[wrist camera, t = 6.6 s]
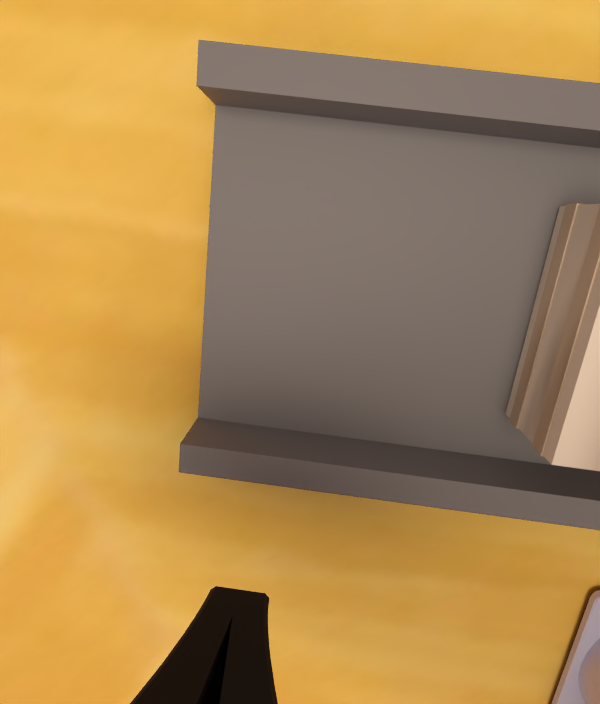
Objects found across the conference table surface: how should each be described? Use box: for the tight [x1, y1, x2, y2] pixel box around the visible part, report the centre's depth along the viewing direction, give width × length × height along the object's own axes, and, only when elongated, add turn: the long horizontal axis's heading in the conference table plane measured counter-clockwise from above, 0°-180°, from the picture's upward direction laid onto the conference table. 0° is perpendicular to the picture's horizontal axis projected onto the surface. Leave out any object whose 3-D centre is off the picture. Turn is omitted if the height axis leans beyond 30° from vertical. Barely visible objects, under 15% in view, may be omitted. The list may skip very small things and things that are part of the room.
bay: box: [179, 40, 600, 530], centre depth 17 cm, size 21×14×3 cm
